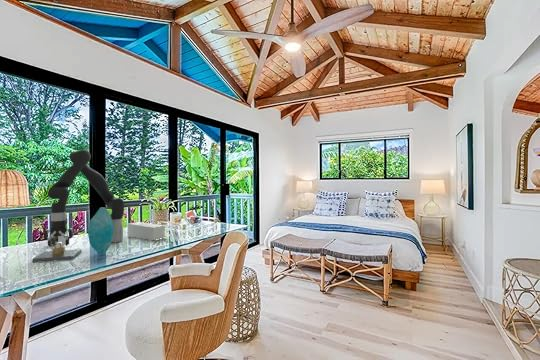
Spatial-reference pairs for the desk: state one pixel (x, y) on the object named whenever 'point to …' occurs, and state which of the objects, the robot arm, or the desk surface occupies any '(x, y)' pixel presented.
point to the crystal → (101, 231)
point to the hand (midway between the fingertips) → (58, 245)
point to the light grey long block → (146, 230)
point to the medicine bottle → (58, 240)
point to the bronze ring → (58, 250)
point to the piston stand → (49, 257)
